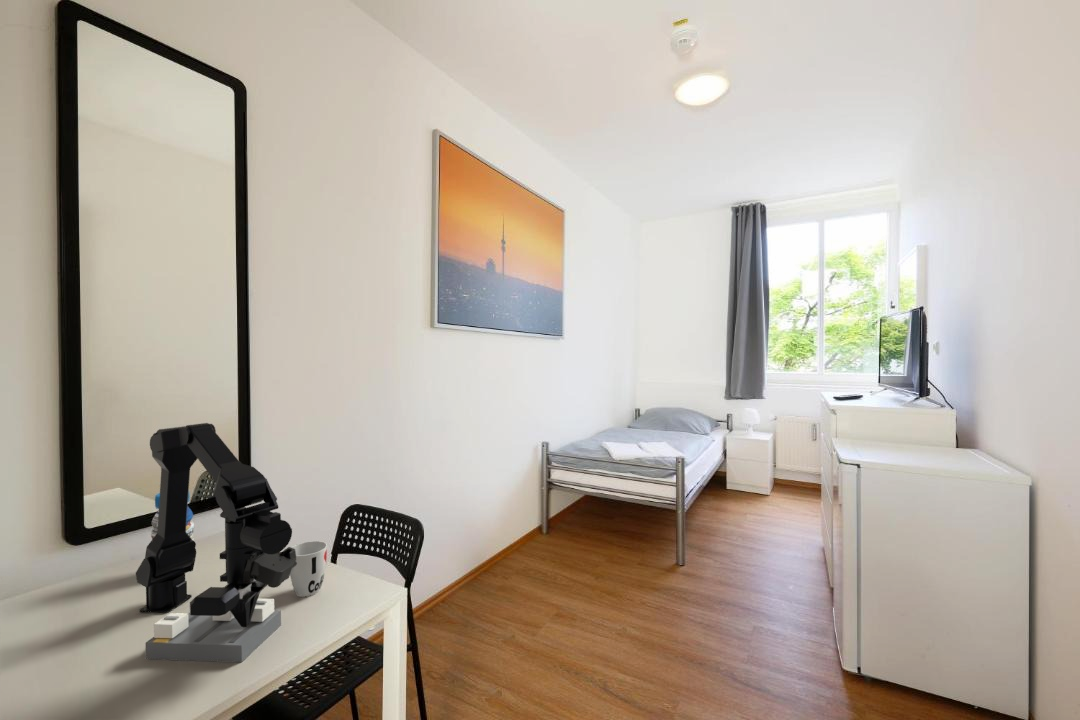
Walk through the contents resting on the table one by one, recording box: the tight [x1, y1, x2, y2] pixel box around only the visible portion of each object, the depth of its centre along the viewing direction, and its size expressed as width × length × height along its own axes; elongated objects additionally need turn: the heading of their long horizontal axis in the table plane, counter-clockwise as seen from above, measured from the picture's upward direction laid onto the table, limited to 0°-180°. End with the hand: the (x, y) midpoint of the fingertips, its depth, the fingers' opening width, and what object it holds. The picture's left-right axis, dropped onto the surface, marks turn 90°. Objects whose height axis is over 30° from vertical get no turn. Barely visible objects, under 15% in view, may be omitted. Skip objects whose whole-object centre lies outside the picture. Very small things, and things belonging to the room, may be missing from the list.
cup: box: [289, 540, 328, 598], centre depth 104 cm, size 8×8×10 cm
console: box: [145, 609, 282, 663], centre depth 86 cm, size 18×11×3 cm, turn 87°
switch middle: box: [213, 611, 234, 621], centre depth 89 cm, size 4×4×3 cm
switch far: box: [251, 597, 275, 622], centre depth 88 cm, size 4×4×3 cm
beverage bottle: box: [150, 491, 195, 541], centre depth 114 cm, size 8×8×20 cm
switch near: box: [153, 612, 189, 638], centre depth 83 cm, size 4×4×3 cm
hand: (245, 625), depth 84 cm, fingers closed
